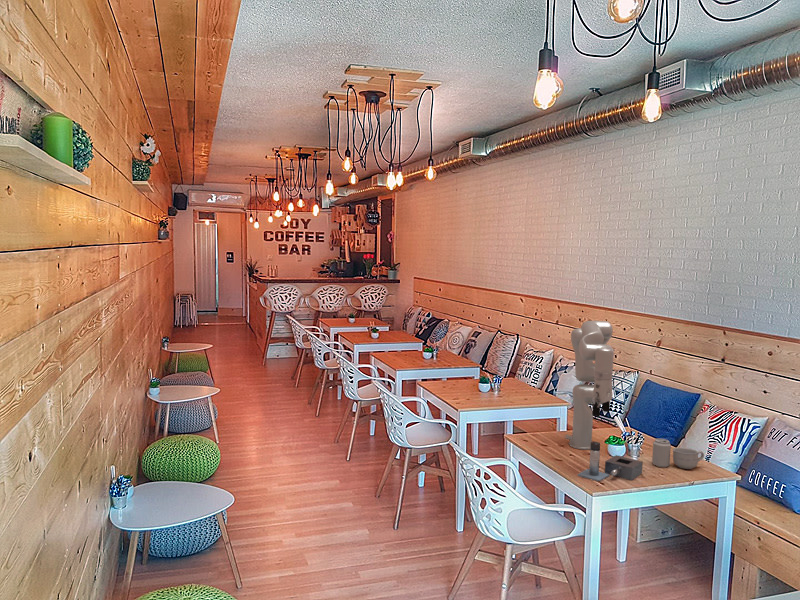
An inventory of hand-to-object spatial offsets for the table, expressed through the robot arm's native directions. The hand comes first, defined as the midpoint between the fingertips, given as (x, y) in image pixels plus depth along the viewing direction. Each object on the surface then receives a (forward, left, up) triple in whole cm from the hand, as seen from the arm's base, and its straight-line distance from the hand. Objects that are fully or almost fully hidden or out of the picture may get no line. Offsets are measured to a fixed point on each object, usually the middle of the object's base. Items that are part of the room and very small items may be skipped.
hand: (600, 413), depth 267 cm
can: (+17, +31, -27) cm, 44 cm away
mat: (+1, -6, -27) cm, 27 cm away
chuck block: (+9, +4, -26) cm, 28 cm away
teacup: (+27, +38, -27) cm, 54 cm away
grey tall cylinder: (+1, -6, -26) cm, 26 cm away
